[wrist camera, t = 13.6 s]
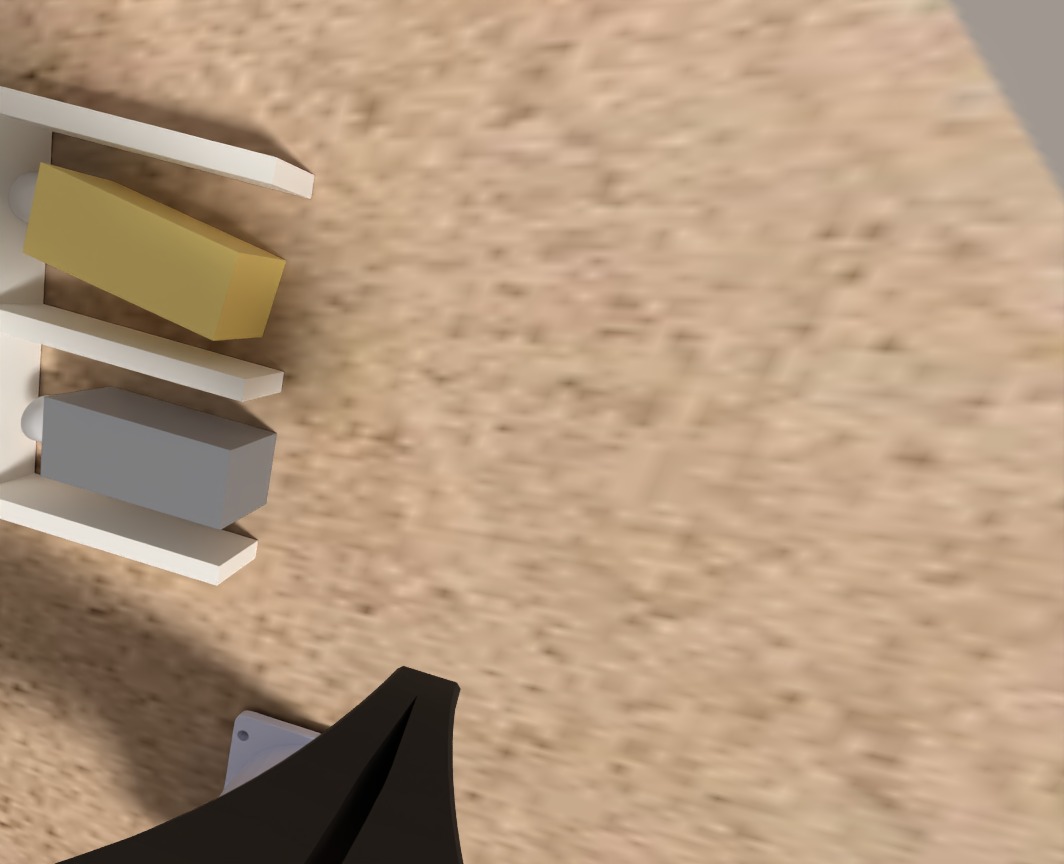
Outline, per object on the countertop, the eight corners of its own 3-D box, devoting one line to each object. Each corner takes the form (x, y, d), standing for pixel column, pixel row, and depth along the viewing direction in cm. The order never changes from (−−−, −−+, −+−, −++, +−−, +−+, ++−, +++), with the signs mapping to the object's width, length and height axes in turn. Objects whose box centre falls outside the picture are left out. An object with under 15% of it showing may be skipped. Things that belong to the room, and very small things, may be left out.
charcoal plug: (268, 502, 23) (220, 530, 20) (77, 445, 23) (2, 464, 21) (279, 432, 22) (230, 450, 19) (81, 375, 23) (5, 385, 20)
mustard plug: (265, 336, 22) (212, 340, 19) (65, 244, 22) (-18, 233, 19) (289, 261, 21) (238, 252, 18) (82, 166, 21) (-2, 142, 18)
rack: (255, 558, 23) (193, 601, 20) (12, 484, 24) (-90, 513, 20) (314, 175, 20) (253, 146, 16) (28, 101, 20) (-90, 57, 17)
